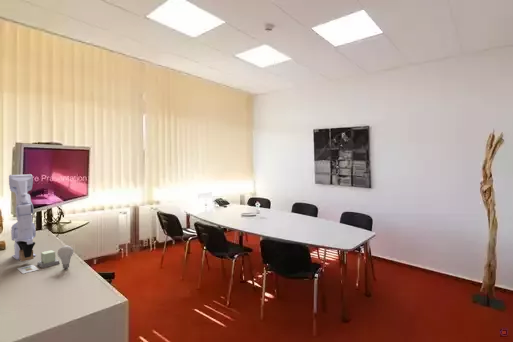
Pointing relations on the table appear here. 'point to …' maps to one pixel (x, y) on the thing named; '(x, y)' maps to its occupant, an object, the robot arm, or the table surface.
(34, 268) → the blueprint sheet
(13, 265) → the table surface
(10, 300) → the table surface
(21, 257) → the block
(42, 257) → the block
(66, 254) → the lightbulb
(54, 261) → the slab
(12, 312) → the table surface
